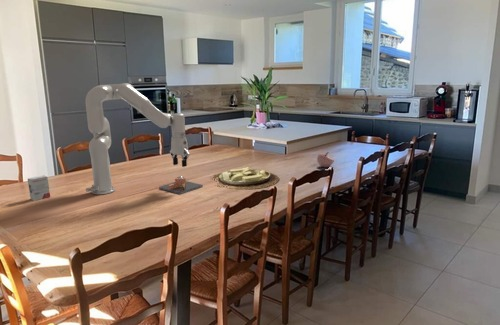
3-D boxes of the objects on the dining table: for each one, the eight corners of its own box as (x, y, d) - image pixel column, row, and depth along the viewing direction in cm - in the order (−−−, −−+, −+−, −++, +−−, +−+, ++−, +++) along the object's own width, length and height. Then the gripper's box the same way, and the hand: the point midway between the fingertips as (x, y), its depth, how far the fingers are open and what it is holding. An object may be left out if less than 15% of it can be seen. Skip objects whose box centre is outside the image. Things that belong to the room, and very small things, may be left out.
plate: (291, 176, 244) (291, 166, 242) (257, 197, 207) (257, 185, 205) (233, 168, 266) (233, 159, 265) (194, 185, 229) (194, 175, 227)
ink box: (46, 195, 205) (44, 174, 202) (50, 197, 202) (48, 176, 199) (30, 199, 199) (27, 178, 196) (33, 201, 196) (30, 179, 193)
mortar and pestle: (335, 169, 261) (335, 153, 259) (318, 169, 262) (318, 153, 259) (331, 165, 273) (332, 150, 270) (315, 165, 273) (316, 150, 271)
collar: (172, 190, 209) (172, 181, 208) (165, 188, 213) (165, 180, 211) (188, 185, 219) (187, 177, 217) (180, 183, 222) (180, 175, 221)
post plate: (180, 194, 206) (179, 182, 204) (159, 188, 216) (158, 177, 215) (202, 186, 220) (202, 175, 219) (181, 181, 230) (181, 171, 229)
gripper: (194, 135, 209) (195, 166, 213) (173, 133, 219) (174, 162, 223) (184, 137, 203) (185, 168, 207) (163, 134, 213) (165, 164, 217)
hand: (180, 165), depth 215 cm, fingers open, 6 cm apart
